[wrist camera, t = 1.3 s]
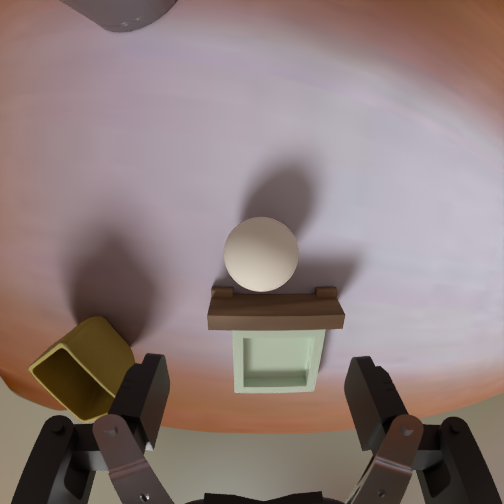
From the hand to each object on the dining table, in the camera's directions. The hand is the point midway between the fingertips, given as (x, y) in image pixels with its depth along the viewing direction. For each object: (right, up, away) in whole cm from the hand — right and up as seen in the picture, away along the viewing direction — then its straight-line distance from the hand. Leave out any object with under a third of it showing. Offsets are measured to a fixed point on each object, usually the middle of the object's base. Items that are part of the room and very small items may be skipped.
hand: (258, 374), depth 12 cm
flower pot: (-18, -5, +19) cm, 27 cm away
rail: (+2, 0, +17) cm, 17 cm away
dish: (+2, -6, +19) cm, 20 cm away
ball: (+1, +6, +15) cm, 16 cm away
